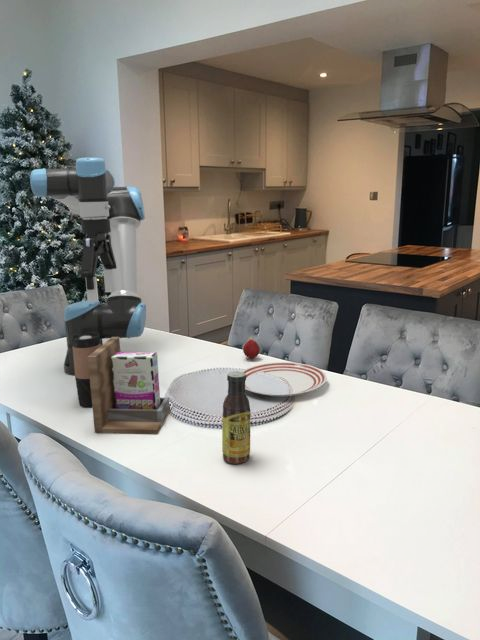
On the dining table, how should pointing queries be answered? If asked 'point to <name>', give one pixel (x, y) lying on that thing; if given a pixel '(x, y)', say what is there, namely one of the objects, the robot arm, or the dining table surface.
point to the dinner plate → (291, 376)
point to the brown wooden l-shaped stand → (104, 399)
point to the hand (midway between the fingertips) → (102, 296)
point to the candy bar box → (136, 380)
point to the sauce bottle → (236, 420)
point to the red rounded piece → (251, 349)
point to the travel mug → (84, 365)
